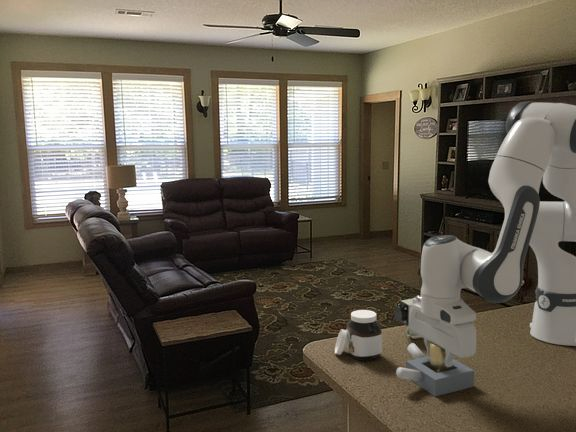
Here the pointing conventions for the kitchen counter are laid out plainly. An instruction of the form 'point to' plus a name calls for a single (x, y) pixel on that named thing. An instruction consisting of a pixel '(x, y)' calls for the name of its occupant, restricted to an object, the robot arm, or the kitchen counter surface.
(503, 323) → the kitchen counter surface
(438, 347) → the cylinder
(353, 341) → the spread jar
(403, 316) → the pneumatic valve
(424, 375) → the coupling block
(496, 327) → the kitchen counter surface
